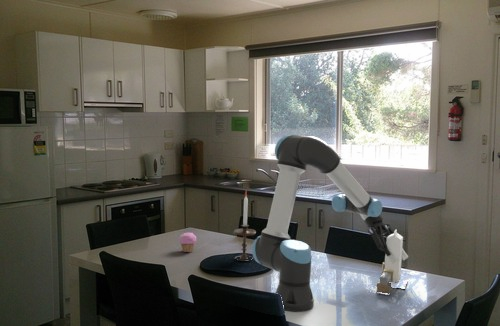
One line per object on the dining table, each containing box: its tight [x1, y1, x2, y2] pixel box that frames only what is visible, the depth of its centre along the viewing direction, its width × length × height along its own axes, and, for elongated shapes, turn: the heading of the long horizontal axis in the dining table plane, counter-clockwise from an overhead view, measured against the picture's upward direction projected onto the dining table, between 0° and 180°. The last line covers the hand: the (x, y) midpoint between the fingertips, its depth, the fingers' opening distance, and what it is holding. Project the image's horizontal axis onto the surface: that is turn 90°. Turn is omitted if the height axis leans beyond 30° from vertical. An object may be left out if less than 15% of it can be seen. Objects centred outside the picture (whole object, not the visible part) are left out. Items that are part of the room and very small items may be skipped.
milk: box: [384, 229, 404, 283], centre depth 212 cm, size 6×6×22 cm
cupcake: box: [178, 232, 197, 253], centre depth 252 cm, size 9×9×10 cm
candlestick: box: [233, 190, 257, 261], centre depth 240 cm, size 11×11×35 cm
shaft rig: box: [376, 261, 394, 294], centre depth 213 cm, size 34×12×8 cm, turn 158°
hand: (400, 260), depth 210 cm, fingers closed on milk, 8 cm apart
